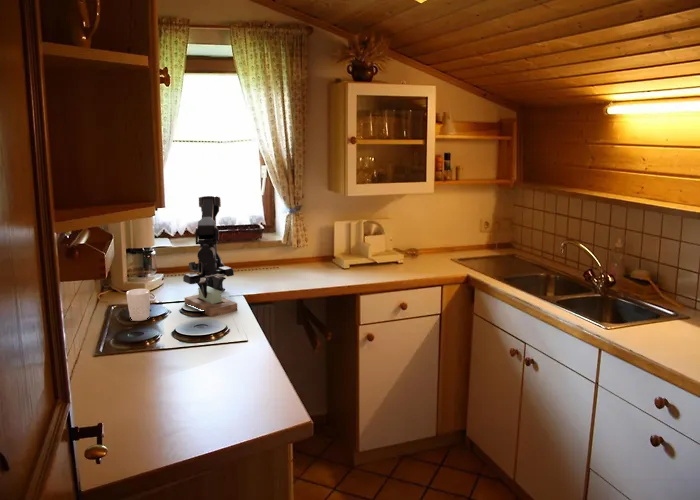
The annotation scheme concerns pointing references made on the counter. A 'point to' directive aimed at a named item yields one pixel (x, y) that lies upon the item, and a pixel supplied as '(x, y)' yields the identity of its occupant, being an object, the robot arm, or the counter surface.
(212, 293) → the peg
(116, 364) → the counter surface
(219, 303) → the brown wooden flat block
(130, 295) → the white cup
